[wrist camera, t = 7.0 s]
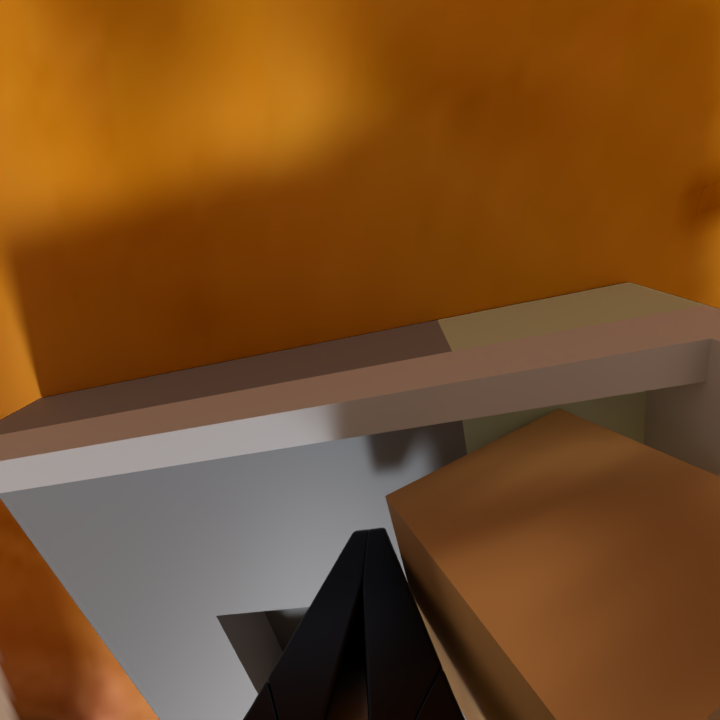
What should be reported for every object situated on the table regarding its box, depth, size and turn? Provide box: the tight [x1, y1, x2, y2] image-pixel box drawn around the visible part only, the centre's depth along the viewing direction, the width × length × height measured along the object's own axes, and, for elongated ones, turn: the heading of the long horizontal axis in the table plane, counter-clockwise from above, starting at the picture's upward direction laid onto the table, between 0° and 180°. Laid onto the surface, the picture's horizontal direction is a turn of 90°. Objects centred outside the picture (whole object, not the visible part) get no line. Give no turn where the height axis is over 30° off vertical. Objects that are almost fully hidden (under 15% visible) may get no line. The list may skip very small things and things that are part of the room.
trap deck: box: [0, 282, 720, 720], centre depth 11 cm, size 18×14×4 cm
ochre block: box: [385, 408, 720, 720], centre depth 7 cm, size 4×4×4 cm
